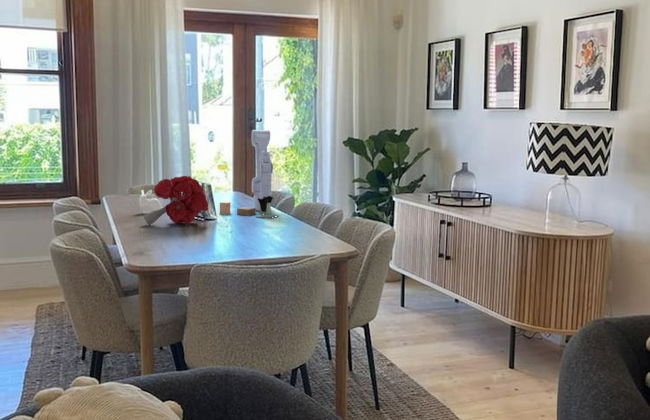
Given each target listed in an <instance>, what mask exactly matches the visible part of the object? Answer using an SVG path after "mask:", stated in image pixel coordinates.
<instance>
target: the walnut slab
mask: <svg viewBox="0 0 650 420" xmlns="http://www.w3.org/2000/svg"><path fill="white" fill-rule="evenodd" d="M256 211H257V210H256V208H254V207H251V206H250V207H249V206H242V207H237V208H236V214H237V215H238V216H239V215H240V216H247V215H249V216H253V215H252V214H254V215H256V214H257V213H256Z"/></svg>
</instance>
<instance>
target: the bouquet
mask: <svg viewBox="0 0 650 420" xmlns="http://www.w3.org/2000/svg"><path fill="white" fill-rule="evenodd" d="M153 192H154V195H155V196H156V197H157V198H158V199H164V200H169V201H170V202H169V203H168V204H166V205H165V206H164V207H163V208H162V209H159V210H156V211H153V212H150V213H148V214H144V215H142V216H143V219H144V220H145V222H146V223H147V225H148V226H150V225H153V224H154V223H155V222H156V221H157V220H159V219H160V218H161V217H162V216H163V215H164V214H166V215H167V216H168V217H169V220H171V222H172V223H174V224H182V223H184V225H186V226H189V225H190V223H192V222H193V221H194V219H195V217H196V216H198V215H199V214H200V213H201V212H202V211H205V212H208V211H209V202H208V200H207V194H205V192H204V189H203V187H202V185H201V184H200V182H199V181H198V180H197V179H196V178H193V177H192V176H190V175H188V176H187V175H182V176H175V177H173V178H171V179H169V178H163V179H161V180H160V181H158V183H156V185H155V186H154V188H153ZM183 194H184V195H183Z"/></svg>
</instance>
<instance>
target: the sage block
mask: <svg viewBox="0 0 650 420" xmlns="http://www.w3.org/2000/svg"><path fill="white" fill-rule="evenodd" d="M271 204H272V202H271V203H267V207H266V212H262V211H261V206H260V211H259V215H262V214H270V215H271V210H272V208H271Z"/></svg>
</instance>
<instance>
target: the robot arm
mask: <svg viewBox="0 0 650 420" xmlns="http://www.w3.org/2000/svg"><path fill="white" fill-rule="evenodd" d="M250 135H251V136H250V137H251V146H252V147H254V150H255V165H256V166H255V167H256V168H255V170H256V176H255V177H253V178H252V179H251V193H252V194H254V195H253V201H254V202H253V208H256V211H257V212H260V206H261V211H262V212H266V207H267V203H271V204H272V202H273V200H274V196H273V192H272V174H273V170H274V165H273V162H272V160H271V156H270V155H271V154H270V152H268V146H269V144H270V141H271V130H269V129H267V130H264V129H252V130H251V134H250Z"/></svg>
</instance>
